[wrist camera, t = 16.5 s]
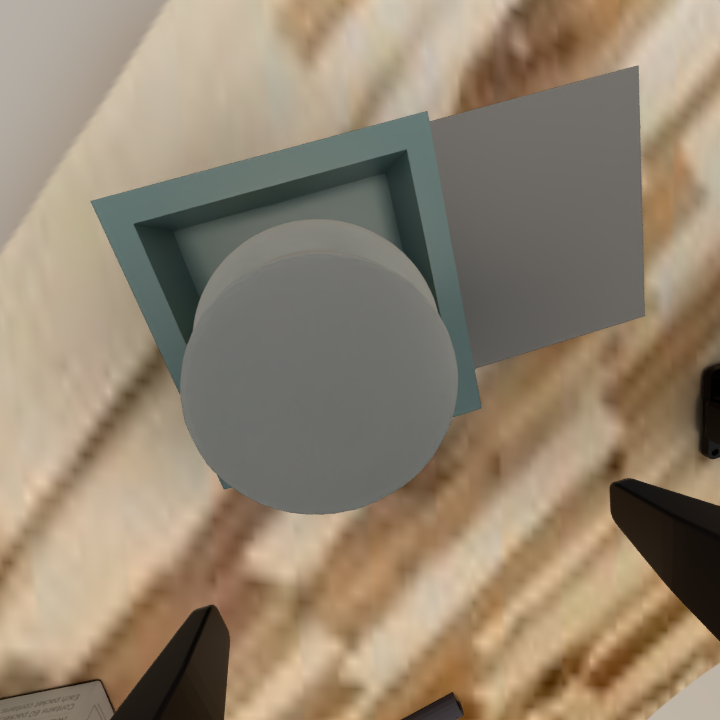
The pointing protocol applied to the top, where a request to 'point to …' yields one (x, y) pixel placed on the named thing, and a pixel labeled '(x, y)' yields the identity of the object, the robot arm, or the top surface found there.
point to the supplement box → (60, 704)
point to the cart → (282, 205)
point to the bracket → (439, 710)
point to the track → (545, 213)
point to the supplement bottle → (318, 369)
